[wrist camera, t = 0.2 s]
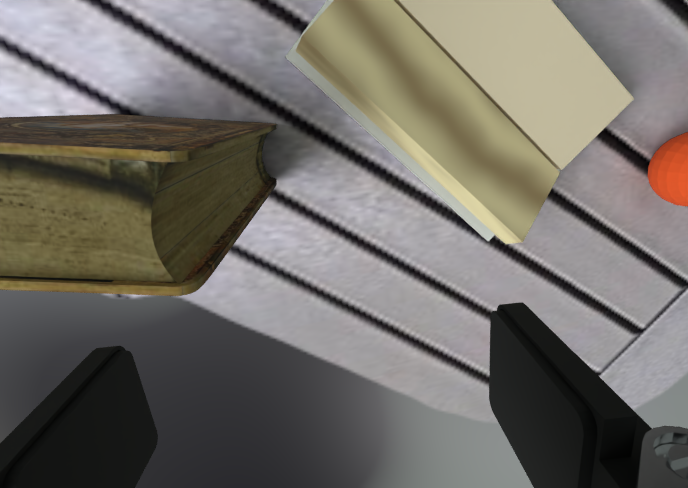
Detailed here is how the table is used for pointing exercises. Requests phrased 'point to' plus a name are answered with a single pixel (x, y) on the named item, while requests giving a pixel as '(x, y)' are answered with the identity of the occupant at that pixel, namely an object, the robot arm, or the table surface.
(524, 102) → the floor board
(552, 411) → the robot arm
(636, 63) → the table surface
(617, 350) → the table surface
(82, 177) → the book
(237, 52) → the table surface
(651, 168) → the clementine
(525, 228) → the honey plank
